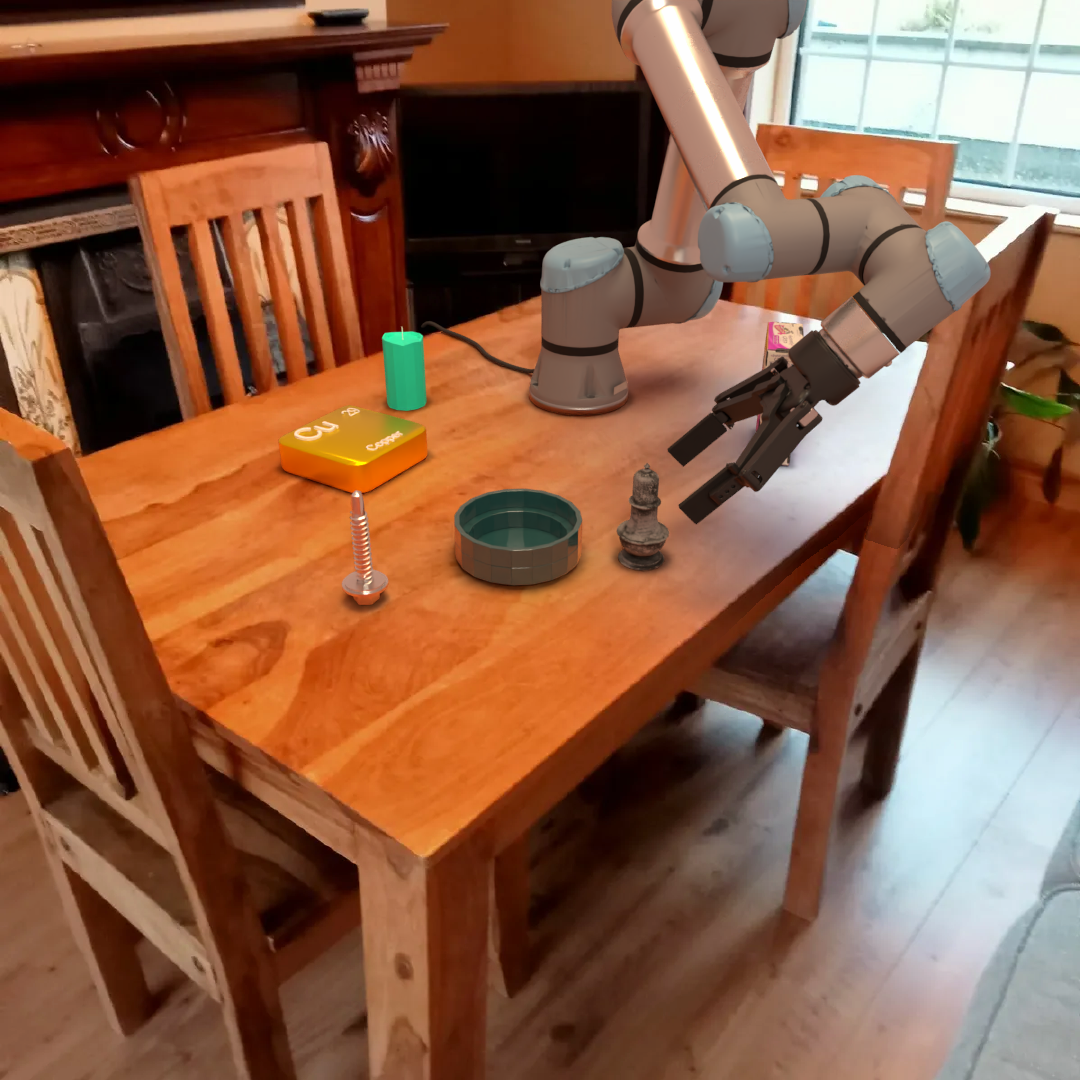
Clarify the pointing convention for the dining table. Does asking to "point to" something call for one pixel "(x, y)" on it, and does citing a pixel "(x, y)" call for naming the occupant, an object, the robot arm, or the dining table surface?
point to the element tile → (353, 448)
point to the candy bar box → (779, 349)
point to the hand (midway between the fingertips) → (680, 485)
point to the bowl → (518, 536)
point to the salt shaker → (643, 525)
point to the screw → (362, 559)
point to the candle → (404, 370)
